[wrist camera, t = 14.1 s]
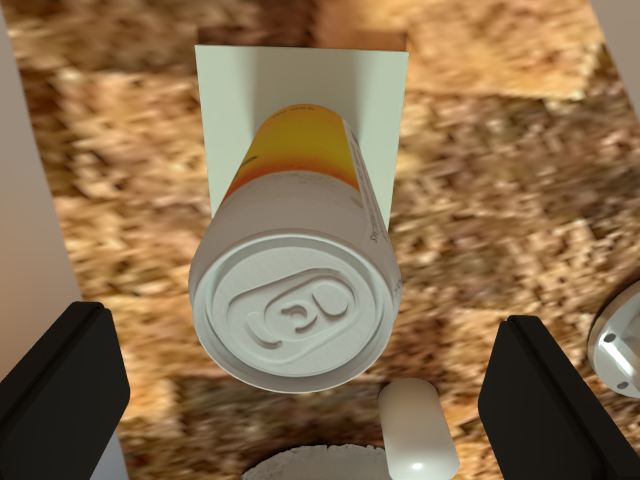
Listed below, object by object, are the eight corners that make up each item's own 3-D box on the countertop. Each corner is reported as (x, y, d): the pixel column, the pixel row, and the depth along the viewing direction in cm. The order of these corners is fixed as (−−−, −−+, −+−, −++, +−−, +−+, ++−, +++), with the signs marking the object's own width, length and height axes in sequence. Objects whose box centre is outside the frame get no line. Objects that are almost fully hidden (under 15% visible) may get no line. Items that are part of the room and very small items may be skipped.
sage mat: (405, 51, 23) (409, 52, 22) (385, 233, 28) (386, 239, 27) (198, 44, 22) (195, 45, 22) (216, 230, 27) (213, 236, 27)
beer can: (232, 136, 24) (126, 288, 11) (325, 79, 22) (339, 170, 9) (289, 220, 26) (261, 428, 13) (376, 173, 25) (445, 353, 12)
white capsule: (442, 377, 34) (465, 445, 29) (432, 419, 36) (452, 488, 31) (380, 377, 34) (392, 444, 29) (374, 419, 36) (385, 488, 31)
